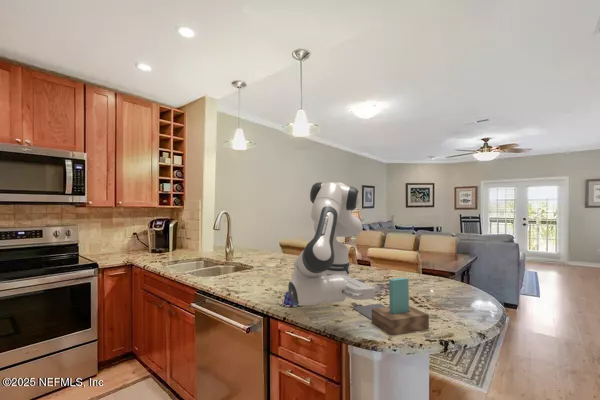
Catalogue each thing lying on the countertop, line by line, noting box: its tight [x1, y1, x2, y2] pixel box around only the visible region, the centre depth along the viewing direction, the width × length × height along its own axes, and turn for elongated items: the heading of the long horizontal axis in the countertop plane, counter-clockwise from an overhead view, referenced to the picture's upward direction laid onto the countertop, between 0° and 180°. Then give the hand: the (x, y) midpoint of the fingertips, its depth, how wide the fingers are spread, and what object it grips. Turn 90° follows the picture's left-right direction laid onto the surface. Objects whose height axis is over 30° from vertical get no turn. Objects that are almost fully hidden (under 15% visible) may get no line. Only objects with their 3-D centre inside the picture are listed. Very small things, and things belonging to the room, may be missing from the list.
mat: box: [352, 303, 387, 321], centre depth 121 cm, size 14×14×1 cm
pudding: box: [278, 290, 302, 308], centre depth 133 cm, size 12×12×5 cm
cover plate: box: [388, 277, 410, 314], centre depth 107 cm, size 7×2×17 cm, turn 110°
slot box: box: [371, 305, 430, 336], centre depth 107 cm, size 16×12×5 cm
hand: (370, 284), depth 103 cm, fingers open, 8 cm apart
